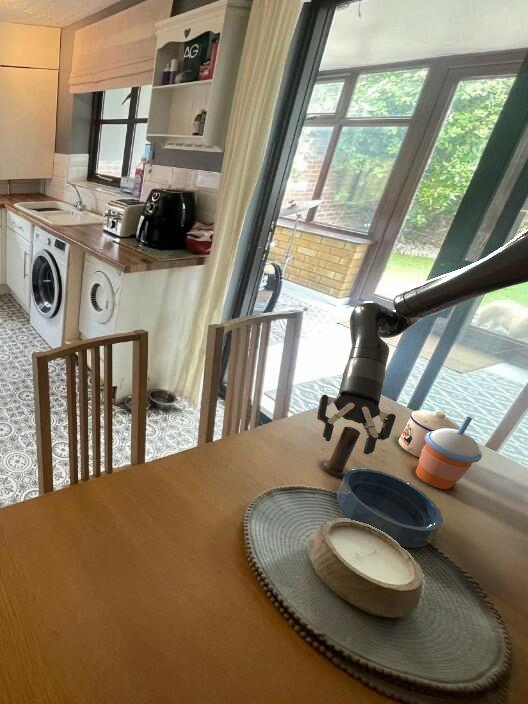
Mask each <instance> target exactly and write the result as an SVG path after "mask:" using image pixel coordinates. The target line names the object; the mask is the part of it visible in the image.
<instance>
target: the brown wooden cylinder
mask: <svg viewBox="0 0 528 704" xmlns="http://www.w3.org/2000/svg"><path fill="white" fill-rule="evenodd" d="M360 436H361V432H360V431H359V430H358V429H356V428H355V427H352V426H344V427H343V429H342V430H341V433H340V436H339V438H338V441H337V443H336V445H335V448H334V449H333V452H332V454H331V457H330V459H327V460H325V461H324V463H323V466H322V467H323V469H324V470H325V472H327V473H328V474H330V475H332V476H334V477H338V478H344V476H345V475H346V473H347V472H348V469H347V468H346V466H347V463H348V461H349V459H350V457H351V456H352V453H353V451H354V448H355V446H356V444H357V442H358V440H359V438H360Z"/></svg>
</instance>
